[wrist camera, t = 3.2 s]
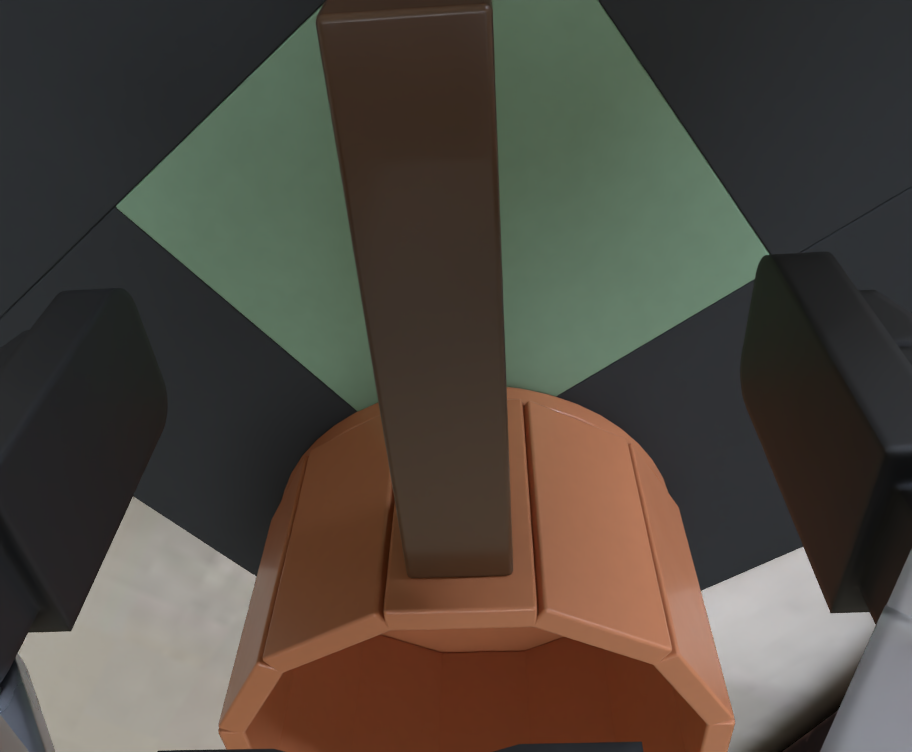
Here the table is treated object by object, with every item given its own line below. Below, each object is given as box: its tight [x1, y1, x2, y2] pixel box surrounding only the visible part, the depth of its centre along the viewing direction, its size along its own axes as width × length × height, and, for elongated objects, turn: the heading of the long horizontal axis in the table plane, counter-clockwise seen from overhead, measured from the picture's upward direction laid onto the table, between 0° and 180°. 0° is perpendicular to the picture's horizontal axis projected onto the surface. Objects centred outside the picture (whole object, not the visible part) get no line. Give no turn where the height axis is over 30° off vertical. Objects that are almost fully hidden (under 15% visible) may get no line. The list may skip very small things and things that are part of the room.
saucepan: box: [218, 0, 735, 752], centre depth 17 cm, size 21×11×6 cm, turn 4°
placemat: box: [0, 0, 912, 590], centre depth 17 cm, size 28×24×1 cm
